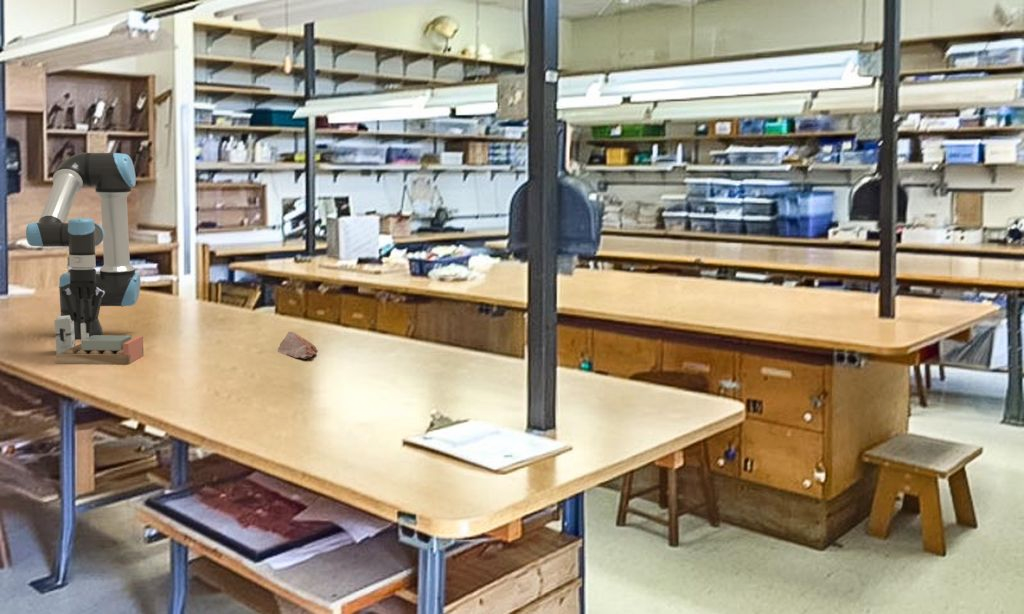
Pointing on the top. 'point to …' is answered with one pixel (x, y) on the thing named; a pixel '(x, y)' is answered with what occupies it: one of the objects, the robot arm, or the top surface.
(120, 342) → the stone slab
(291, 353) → the rock
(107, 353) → the roller bed
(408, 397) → the top surface
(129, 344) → the stop rail
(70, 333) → the ink box
